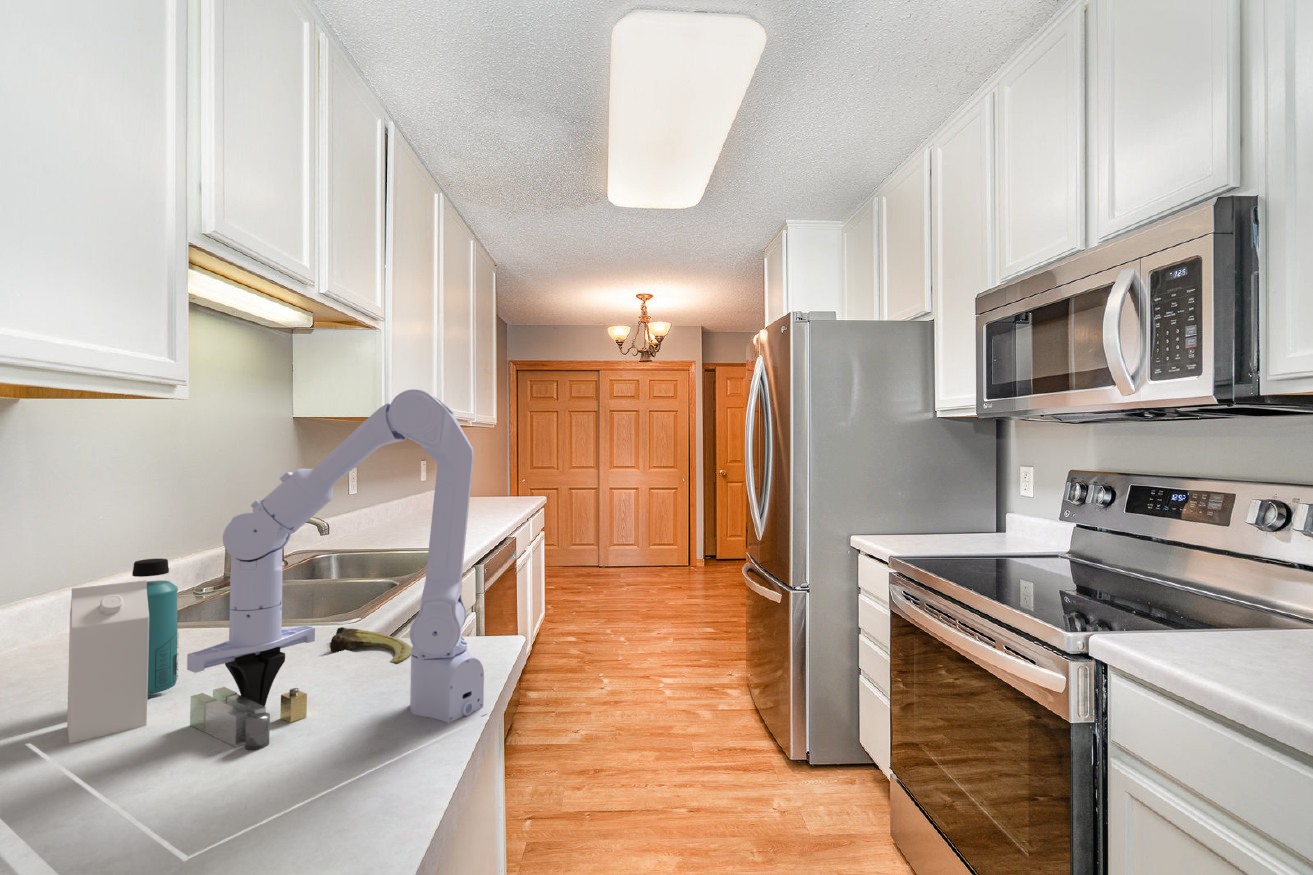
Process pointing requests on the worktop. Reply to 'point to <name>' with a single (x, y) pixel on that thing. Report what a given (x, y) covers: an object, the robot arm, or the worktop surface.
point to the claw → (369, 642)
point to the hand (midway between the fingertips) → (254, 711)
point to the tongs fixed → (229, 722)
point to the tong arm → (237, 701)
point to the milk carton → (107, 660)
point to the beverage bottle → (160, 625)
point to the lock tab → (293, 705)
